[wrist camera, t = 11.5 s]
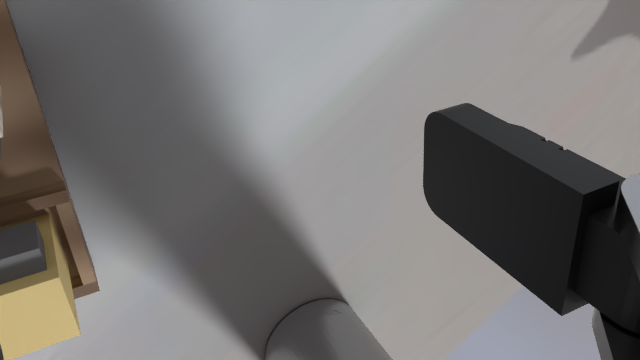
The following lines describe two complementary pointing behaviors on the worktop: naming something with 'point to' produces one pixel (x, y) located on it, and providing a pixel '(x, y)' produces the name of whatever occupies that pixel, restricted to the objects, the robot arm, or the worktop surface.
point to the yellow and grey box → (34, 288)
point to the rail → (34, 162)
